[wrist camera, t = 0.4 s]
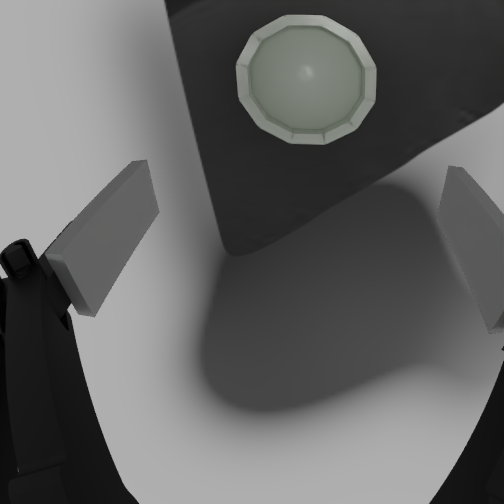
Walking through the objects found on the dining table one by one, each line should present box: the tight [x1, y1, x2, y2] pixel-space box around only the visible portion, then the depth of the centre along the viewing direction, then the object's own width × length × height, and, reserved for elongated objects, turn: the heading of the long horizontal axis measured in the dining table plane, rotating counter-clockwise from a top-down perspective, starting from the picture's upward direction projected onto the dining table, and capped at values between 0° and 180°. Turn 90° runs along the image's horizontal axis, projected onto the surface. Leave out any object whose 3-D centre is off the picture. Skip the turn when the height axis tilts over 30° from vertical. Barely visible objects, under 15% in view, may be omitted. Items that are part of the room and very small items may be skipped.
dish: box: [236, 15, 376, 145], centre depth 30 cm, size 15×15×3 cm
